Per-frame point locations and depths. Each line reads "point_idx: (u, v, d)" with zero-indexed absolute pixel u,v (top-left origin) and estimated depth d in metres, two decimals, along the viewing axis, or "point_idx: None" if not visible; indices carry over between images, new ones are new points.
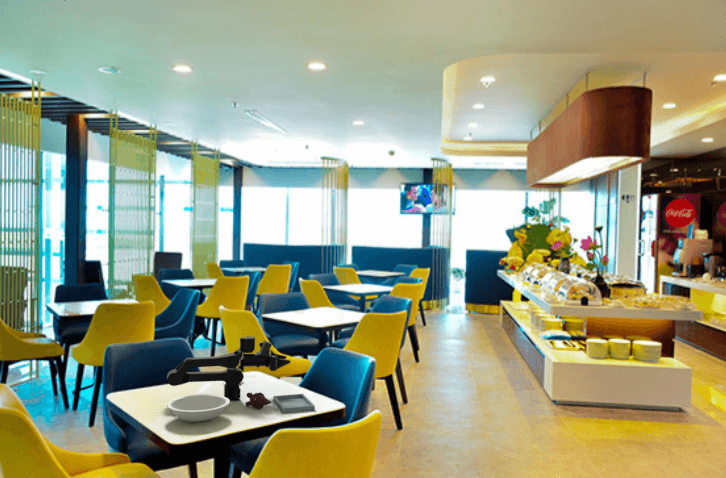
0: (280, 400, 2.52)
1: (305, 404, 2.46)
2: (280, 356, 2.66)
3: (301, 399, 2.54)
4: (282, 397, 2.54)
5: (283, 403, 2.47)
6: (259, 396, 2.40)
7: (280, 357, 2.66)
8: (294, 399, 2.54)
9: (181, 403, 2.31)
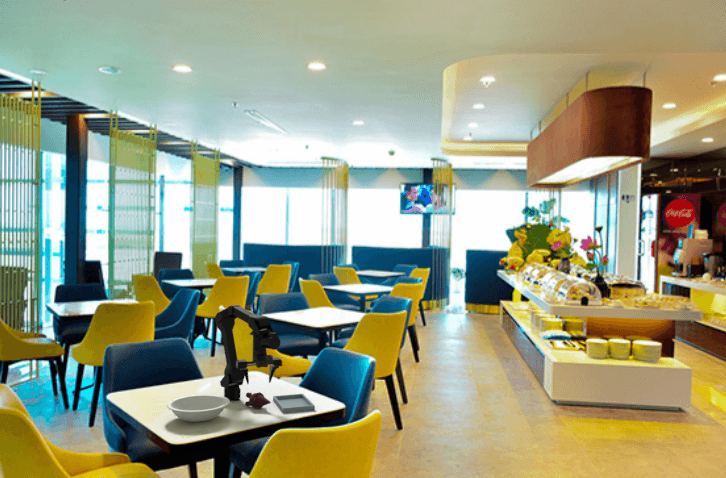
0: (280, 400, 2.52)
1: (305, 404, 2.46)
2: (269, 376, 2.43)
3: (301, 399, 2.54)
4: (282, 397, 2.54)
5: (283, 403, 2.47)
6: (258, 396, 2.40)
7: (270, 376, 2.43)
8: (294, 399, 2.54)
9: (181, 403, 2.31)
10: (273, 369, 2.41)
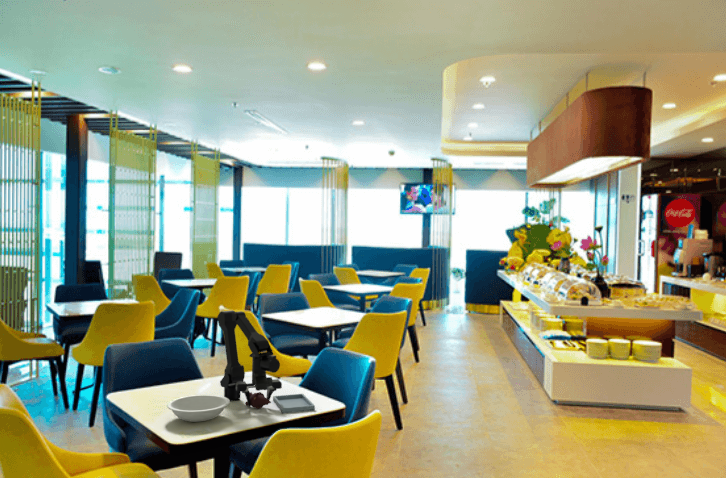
0: (280, 400, 2.52)
1: (305, 404, 2.46)
2: (267, 398, 2.42)
3: (301, 399, 2.54)
4: (282, 397, 2.54)
5: (283, 403, 2.47)
6: (259, 396, 2.40)
7: (267, 398, 2.43)
8: (294, 399, 2.54)
9: (181, 403, 2.31)
10: (270, 391, 2.41)
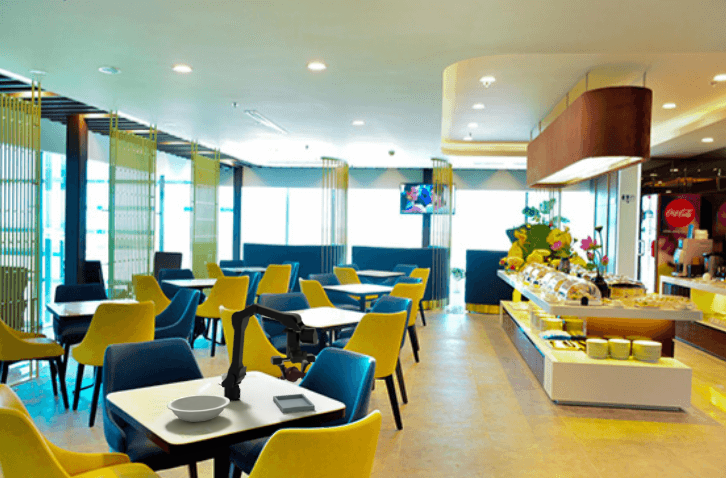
0: (280, 400, 2.52)
1: (305, 404, 2.46)
2: None
3: (301, 399, 2.54)
4: (282, 397, 2.54)
5: (283, 403, 2.47)
6: (293, 369, 2.45)
7: None
8: (294, 399, 2.54)
9: (181, 403, 2.31)
10: (305, 365, 2.46)
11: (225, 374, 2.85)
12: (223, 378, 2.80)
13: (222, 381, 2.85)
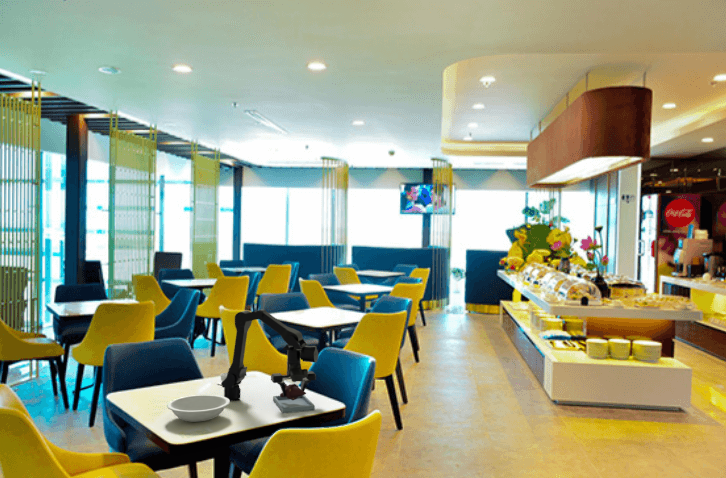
0: (280, 400, 2.52)
1: (305, 404, 2.46)
2: None
3: (301, 399, 2.54)
4: (282, 397, 2.54)
5: (283, 403, 2.47)
6: (294, 387, 2.45)
7: None
8: None
9: (181, 403, 2.31)
10: (305, 383, 2.46)
11: (224, 374, 2.85)
12: (222, 378, 2.80)
13: (221, 381, 2.85)
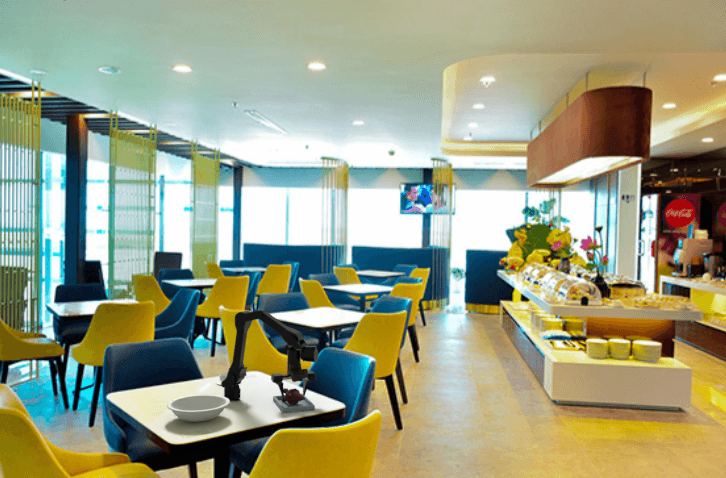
0: (280, 400, 2.52)
1: (305, 404, 2.46)
2: (304, 389, 2.48)
3: None
4: None
5: (283, 403, 2.47)
6: (294, 392, 2.45)
7: (304, 390, 2.48)
8: None
9: (181, 403, 2.31)
10: (307, 383, 2.47)
11: (223, 374, 2.85)
12: (221, 378, 2.80)
13: (220, 381, 2.85)
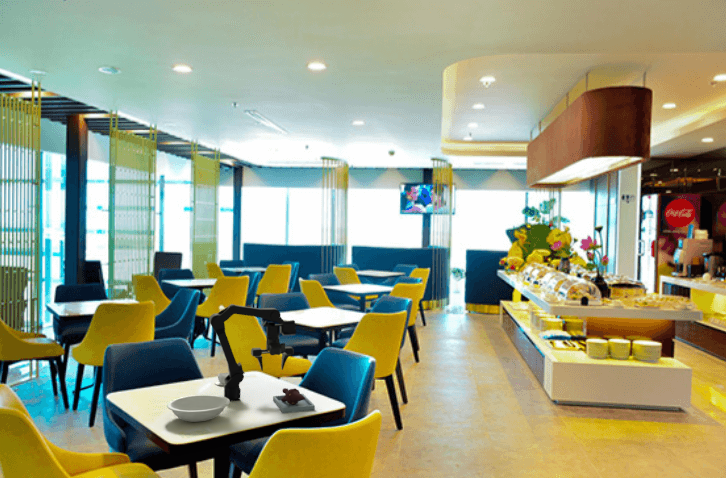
0: (280, 400, 2.52)
1: (305, 404, 2.46)
2: (282, 363, 2.61)
3: None
4: None
5: (283, 403, 2.47)
6: (294, 392, 2.45)
7: (282, 364, 2.62)
8: None
9: (181, 403, 2.31)
10: (285, 357, 2.60)
11: (222, 374, 2.85)
12: (219, 378, 2.80)
13: (219, 381, 2.85)
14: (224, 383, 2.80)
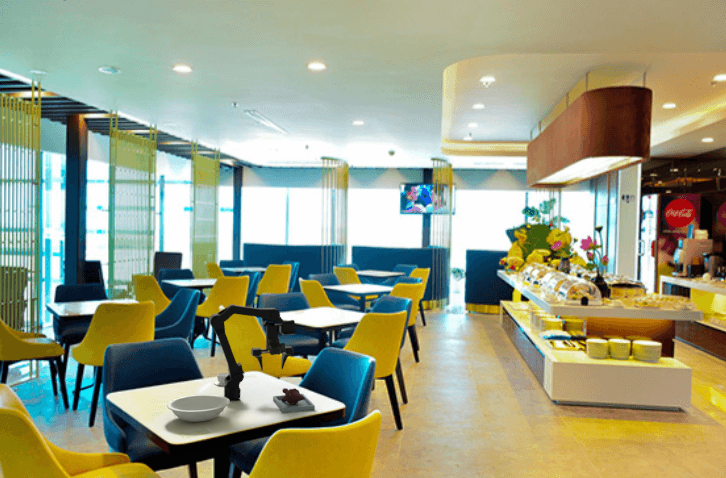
0: (280, 400, 2.52)
1: (305, 404, 2.46)
2: (282, 363, 2.62)
3: None
4: None
5: (283, 403, 2.47)
6: (293, 392, 2.45)
7: (282, 363, 2.62)
8: None
9: (181, 403, 2.31)
10: (285, 357, 2.60)
11: (221, 374, 2.85)
12: (219, 378, 2.80)
13: (218, 381, 2.85)
14: (223, 383, 2.80)
